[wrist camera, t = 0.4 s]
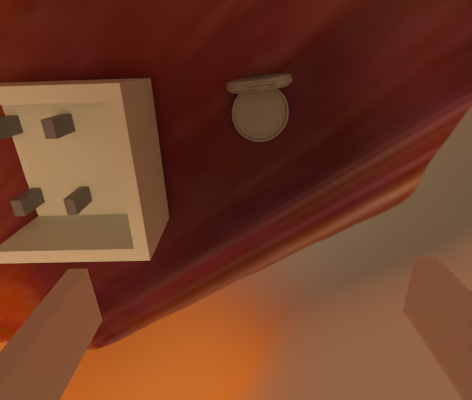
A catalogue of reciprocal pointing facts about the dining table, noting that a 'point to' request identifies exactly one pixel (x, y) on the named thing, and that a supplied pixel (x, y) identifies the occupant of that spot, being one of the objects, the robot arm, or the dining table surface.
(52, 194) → the cabinet
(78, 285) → the robot arm
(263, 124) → the pocket watch
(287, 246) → the dining table surface
